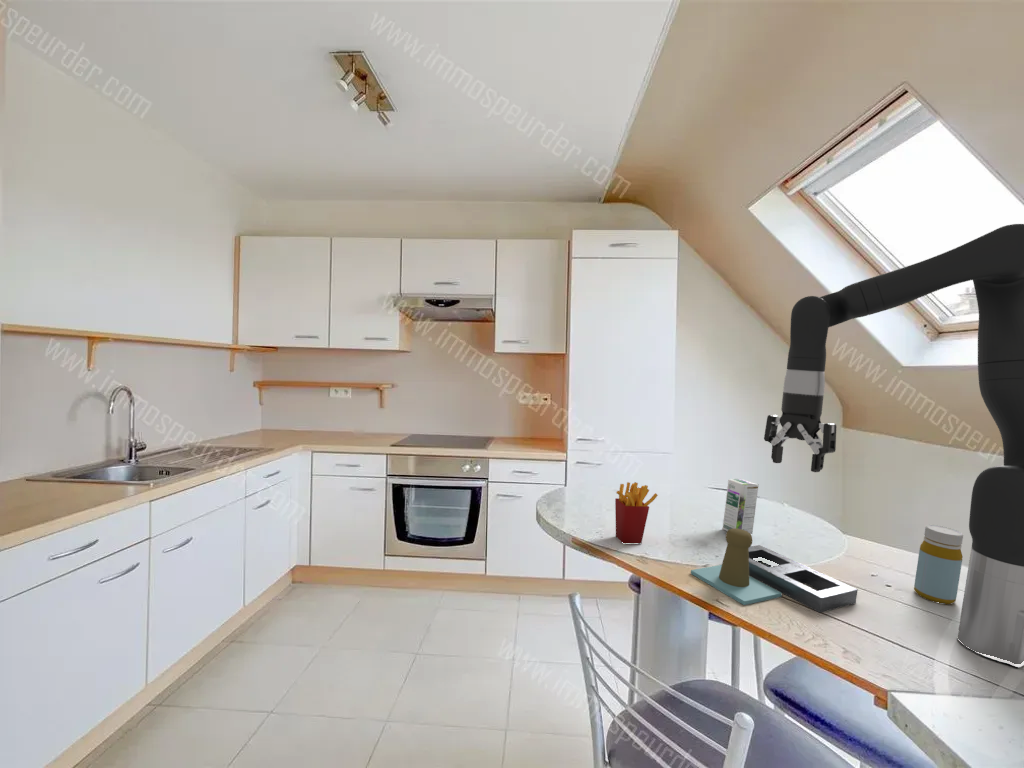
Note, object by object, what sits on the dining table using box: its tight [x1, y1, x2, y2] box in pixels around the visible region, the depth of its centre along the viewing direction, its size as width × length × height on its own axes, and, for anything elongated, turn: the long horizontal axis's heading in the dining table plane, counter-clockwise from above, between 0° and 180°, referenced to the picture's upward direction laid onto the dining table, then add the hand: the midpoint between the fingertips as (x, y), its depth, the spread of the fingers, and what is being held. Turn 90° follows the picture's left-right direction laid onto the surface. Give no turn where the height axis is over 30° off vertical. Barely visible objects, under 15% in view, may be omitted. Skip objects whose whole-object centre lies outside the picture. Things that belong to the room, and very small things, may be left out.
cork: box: [719, 528, 753, 587], centre depth 108 cm, size 6×6×11 cm
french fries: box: [614, 481, 659, 544], centre depth 129 cm, size 9×8×15 cm
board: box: [690, 564, 783, 606], centre depth 108 cm, size 14×11×1 cm
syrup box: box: [722, 478, 759, 535], centre depth 140 cm, size 6×6×14 cm
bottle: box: [913, 524, 964, 605], centre depth 109 cm, size 7×7×15 cm
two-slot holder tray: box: [749, 544, 858, 614], centre depth 111 cm, size 23×12×3 cm, turn 26°
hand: (795, 467), depth 109 cm, fingers open, 8 cm apart
